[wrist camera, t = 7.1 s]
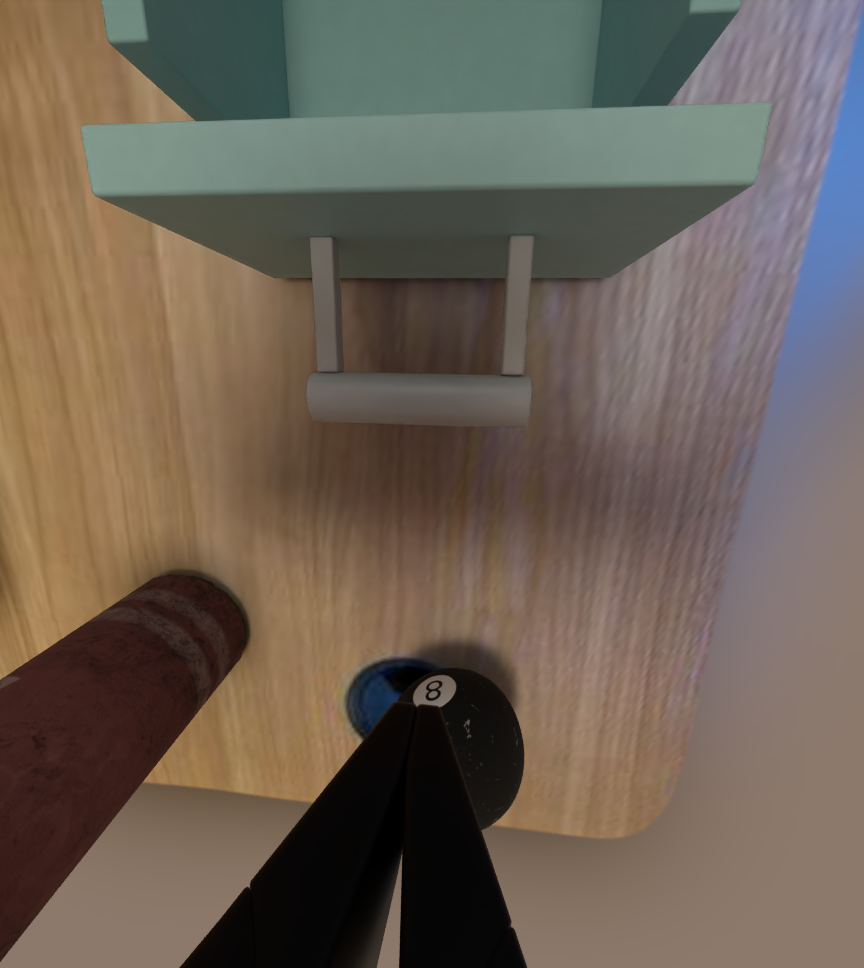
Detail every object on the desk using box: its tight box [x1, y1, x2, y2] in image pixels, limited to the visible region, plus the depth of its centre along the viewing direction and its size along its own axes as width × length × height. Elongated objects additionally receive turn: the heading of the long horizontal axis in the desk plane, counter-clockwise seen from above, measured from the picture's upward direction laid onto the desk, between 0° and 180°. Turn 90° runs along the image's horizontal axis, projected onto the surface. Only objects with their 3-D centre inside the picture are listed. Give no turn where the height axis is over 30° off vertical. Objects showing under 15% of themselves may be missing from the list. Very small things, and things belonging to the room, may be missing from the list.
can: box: [0, 575, 245, 962], centre depth 15 cm, size 6×6×14 cm
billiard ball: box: [398, 668, 524, 830], centre depth 18 cm, size 6×6×6 cm
